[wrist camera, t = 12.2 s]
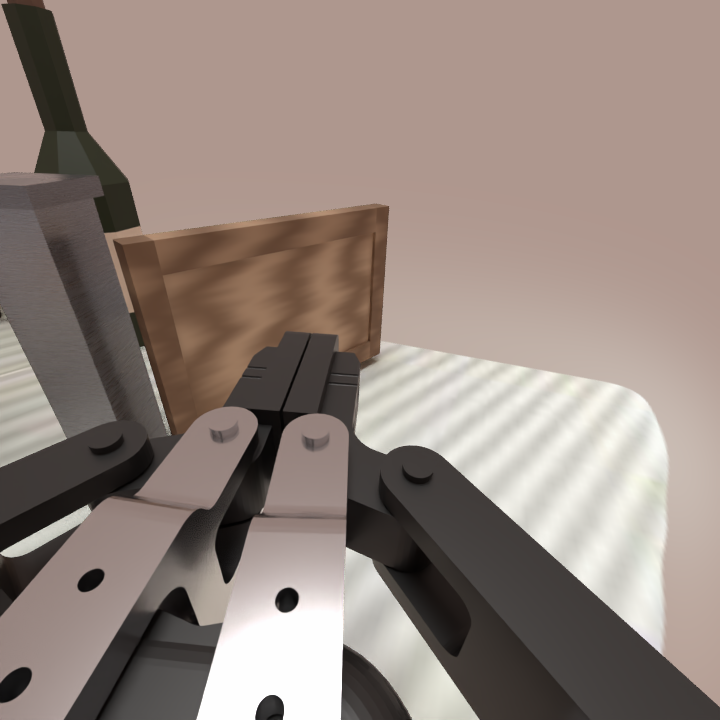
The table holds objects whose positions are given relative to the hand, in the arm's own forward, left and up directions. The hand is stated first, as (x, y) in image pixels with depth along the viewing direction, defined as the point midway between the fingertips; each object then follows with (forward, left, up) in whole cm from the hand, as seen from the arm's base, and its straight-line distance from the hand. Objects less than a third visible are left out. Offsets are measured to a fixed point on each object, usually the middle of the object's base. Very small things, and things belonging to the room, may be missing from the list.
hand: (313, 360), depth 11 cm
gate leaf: (-6, +18, -15) cm, 24 cm away
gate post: (-16, +10, -16) cm, 25 cm away
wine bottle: (-28, +29, -16) cm, 43 cm away
